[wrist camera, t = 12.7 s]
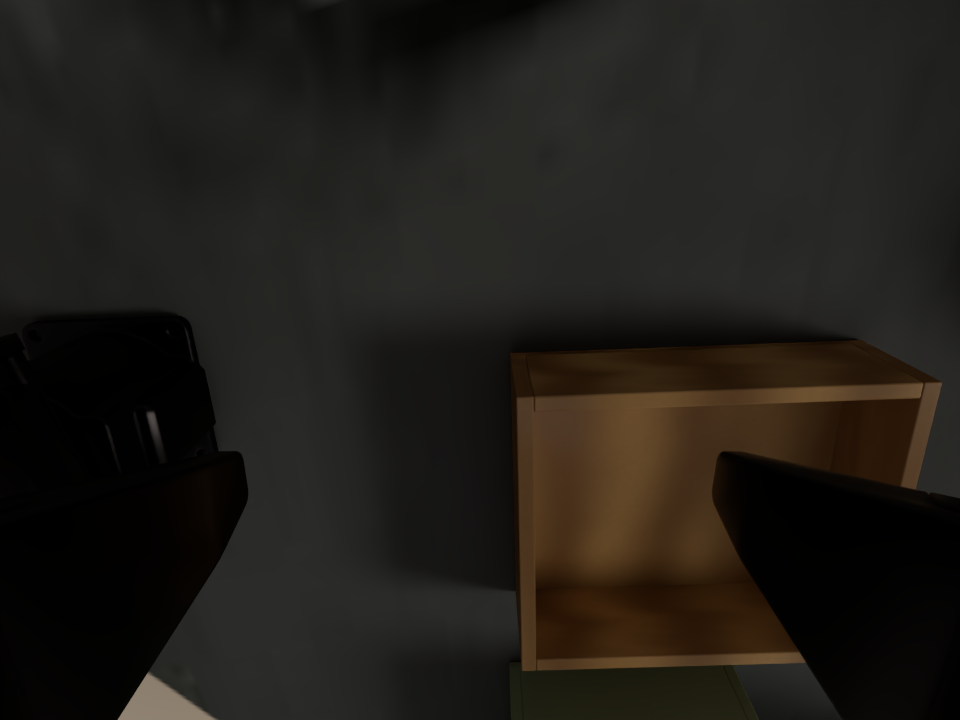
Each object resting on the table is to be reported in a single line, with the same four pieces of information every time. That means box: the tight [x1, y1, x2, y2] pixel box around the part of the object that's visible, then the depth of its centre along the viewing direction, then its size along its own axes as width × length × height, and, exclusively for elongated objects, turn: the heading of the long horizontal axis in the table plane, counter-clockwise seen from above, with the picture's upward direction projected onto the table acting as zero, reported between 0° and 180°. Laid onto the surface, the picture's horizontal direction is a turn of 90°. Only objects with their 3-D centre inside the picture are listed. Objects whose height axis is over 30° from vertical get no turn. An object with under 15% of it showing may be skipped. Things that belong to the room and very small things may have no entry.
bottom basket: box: [510, 340, 942, 671], centre depth 24 cm, size 14×12×4 cm
